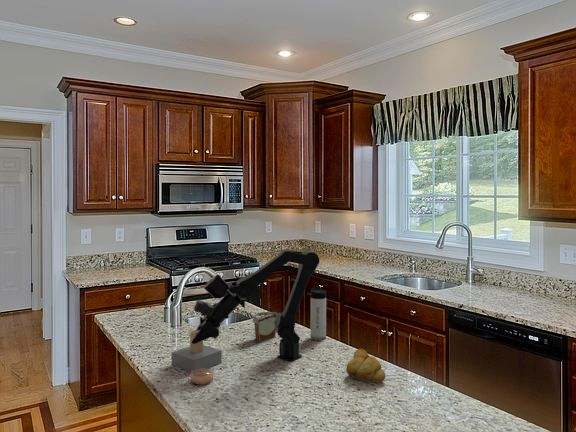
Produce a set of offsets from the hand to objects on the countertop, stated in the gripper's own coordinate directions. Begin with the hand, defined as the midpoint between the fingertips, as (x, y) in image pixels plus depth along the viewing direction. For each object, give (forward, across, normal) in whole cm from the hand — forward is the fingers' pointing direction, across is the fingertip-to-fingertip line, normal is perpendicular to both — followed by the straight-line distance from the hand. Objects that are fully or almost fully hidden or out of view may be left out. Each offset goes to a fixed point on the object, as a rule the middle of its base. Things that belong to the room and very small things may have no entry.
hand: (192, 341), depth 161 cm
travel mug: (-30, -20, +41) cm, 54 cm away
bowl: (+4, +16, +8) cm, 18 cm away
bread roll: (-32, +23, +44) cm, 59 cm away
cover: (+5, 0, +7) cm, 8 cm away
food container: (-14, -23, +25) cm, 37 cm away
